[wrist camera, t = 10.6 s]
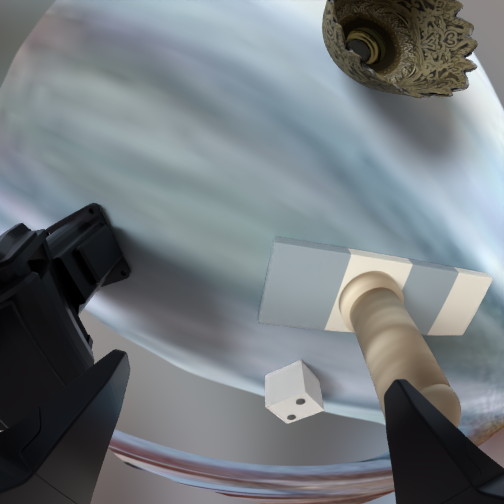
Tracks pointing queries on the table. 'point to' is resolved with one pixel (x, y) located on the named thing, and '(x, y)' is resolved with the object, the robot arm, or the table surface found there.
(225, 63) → the table surface
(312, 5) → the table surface
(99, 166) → the table surface
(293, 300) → the board
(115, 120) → the table surface
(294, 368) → the die
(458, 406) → the round-topped post
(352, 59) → the cup
